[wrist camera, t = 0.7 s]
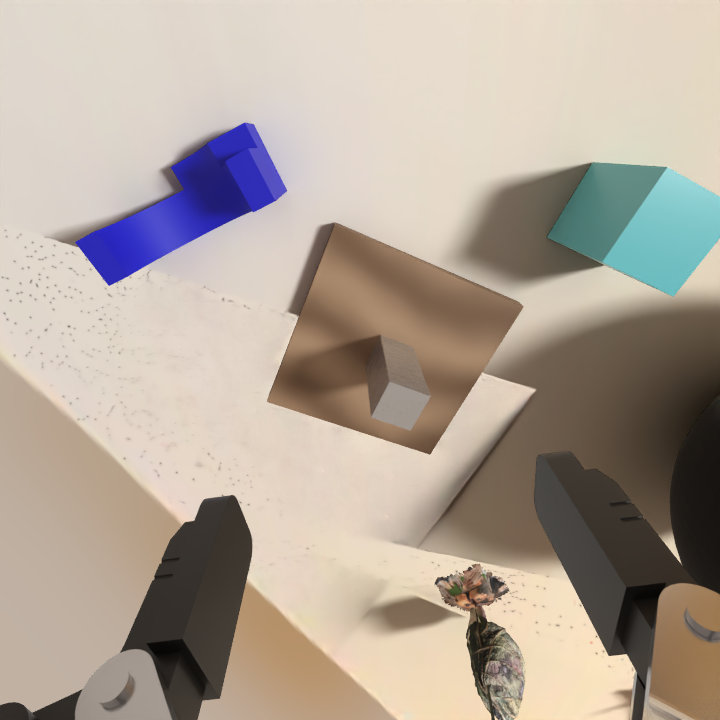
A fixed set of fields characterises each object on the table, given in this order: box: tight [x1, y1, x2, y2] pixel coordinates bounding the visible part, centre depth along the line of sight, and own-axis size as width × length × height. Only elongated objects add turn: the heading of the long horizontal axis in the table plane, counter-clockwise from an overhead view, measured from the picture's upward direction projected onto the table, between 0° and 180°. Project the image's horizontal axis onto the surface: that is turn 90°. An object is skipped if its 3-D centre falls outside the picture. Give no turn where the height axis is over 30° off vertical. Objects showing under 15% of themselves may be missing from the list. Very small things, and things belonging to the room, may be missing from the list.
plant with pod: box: [434, 564, 525, 720], centre depth 42 cm, size 8×11×20 cm
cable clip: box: [75, 123, 287, 286], centre depth 27 cm, size 12×4×6 cm, turn 115°
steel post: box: [366, 335, 431, 431], centre depth 31 cm, size 3×3×8 cm
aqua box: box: [547, 162, 720, 296], centre depth 28 cm, size 6×6×8 cm
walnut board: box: [267, 223, 523, 454], centre depth 35 cm, size 16×16×1 cm
